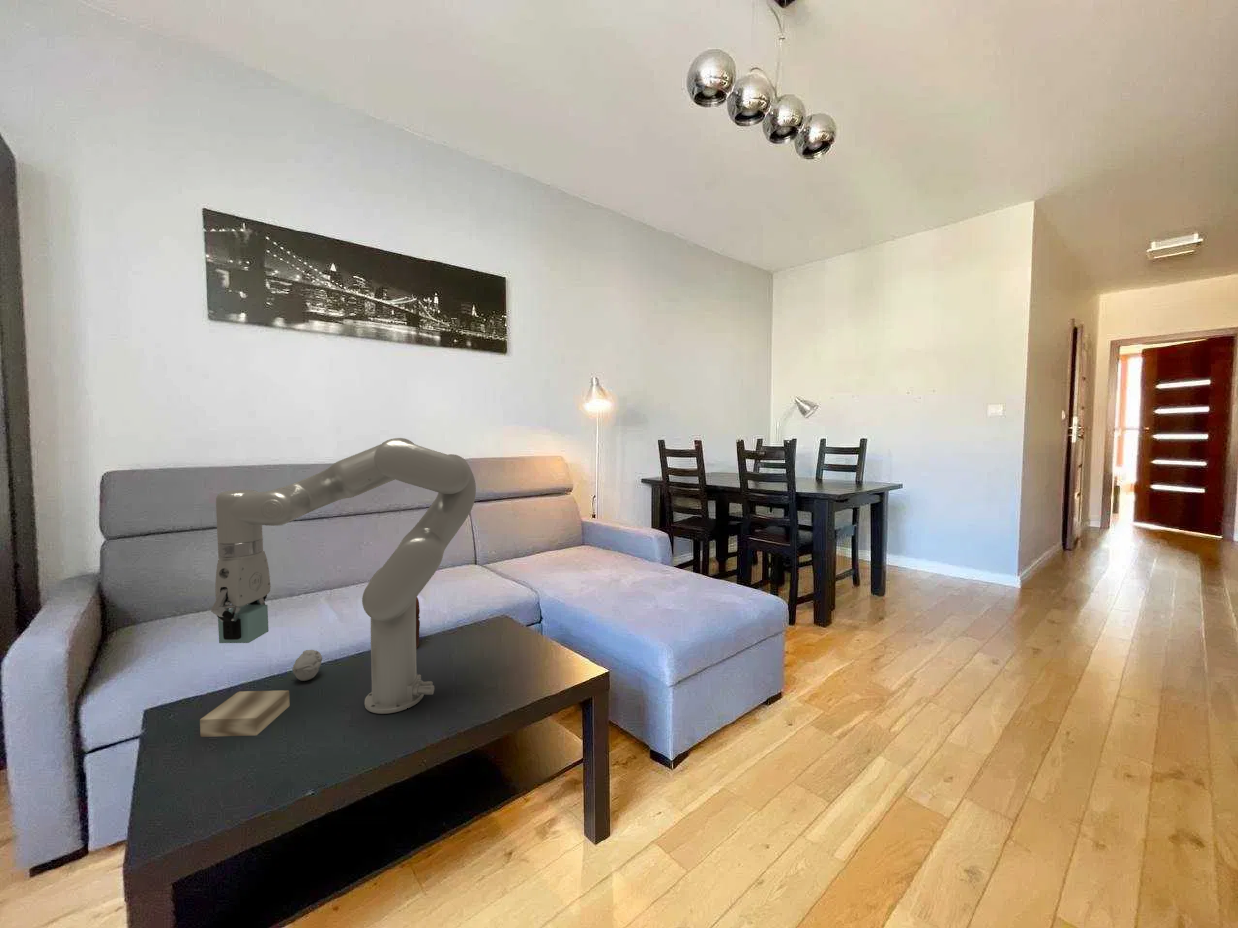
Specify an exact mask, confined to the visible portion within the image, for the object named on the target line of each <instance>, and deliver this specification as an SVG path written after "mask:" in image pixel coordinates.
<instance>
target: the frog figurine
mask: <svg viewBox="0 0 1238 928" xmlns="http://www.w3.org/2000/svg"><path fill="white" fill-rule="evenodd" d="M322 661H323V656H322V654H321V652H320V651H319V650H315V649H306V650H304V651H302V653H301V655H300V654H299V656H298V657H297V659H296V660H295V662H294V664H293V667H292V669H291V670H292V674H294V675H295V677H296V679H298V680H300V681H302V682H303V681H304V682H305V681H309V680H312V679H313V678H314V677H315V676H316V675H317V674H318V673H319V670H320V667H321V666H322Z"/></svg>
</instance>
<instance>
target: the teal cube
mask: <svg viewBox="0 0 1238 928" xmlns="http://www.w3.org/2000/svg"><path fill="white" fill-rule="evenodd" d="M268 607H269V606H268V604H265V605H248V604H247V605H245V606H243V607H240V611H239V616H238V619H237V620H240V622H241V638H240V639H238V640H225V639H224V638H223V622H222V621H220V618H218V617H217V622H218V623H217V625H218V627H217V628H218V643H219V644H250V643H251V642H254V641H255V640H257V639H259V638H260V637H262V636H264V635H265V634H266V633H268V632H269V613H268V611H269V609H268ZM229 612H230V613H232V612H233V608H229Z"/></svg>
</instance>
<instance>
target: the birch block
mask: <svg viewBox="0 0 1238 928" xmlns="http://www.w3.org/2000/svg"><path fill="white" fill-rule="evenodd" d="M290 702H291V701H290V690H247V691H245V690H244V691H237V692H236V693H234V694H233V695H232V696H231V697H229V698H227V699H226V700H224V701H223V702H222V703H221V704H219V705H217V706H216V707H215V708H213V709H212V710H211V711H210V712H208V713H207V714H205V715H204V716H203V717H201V718H200V719H199V727H200V728H199V730H200V732H199V733H200V734H199V735H200V738H205V737H208V738H209V737H210V738H211V737H241V736H242V737H243V736H244V737H245V736H247V737H248V736H258V735H259V734H261V732H262V731H263V730H265V729H266V728H267V727H268V726H269V725H270V724H271V723H273V722H274V721H275V720H276V718H278V717H279V716H280V715H282V713H284V711H285V710H287V709H288V708H289V707H290V705H291V704H290Z"/></svg>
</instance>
